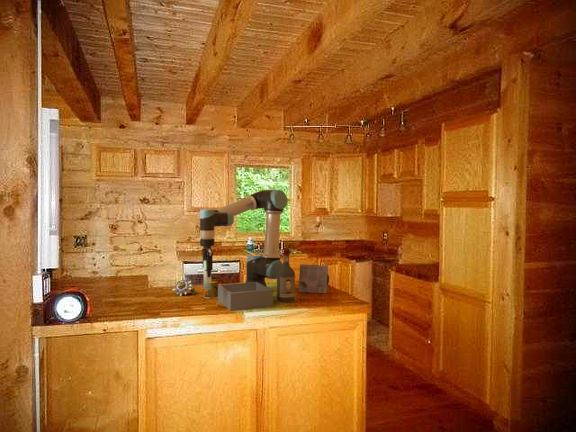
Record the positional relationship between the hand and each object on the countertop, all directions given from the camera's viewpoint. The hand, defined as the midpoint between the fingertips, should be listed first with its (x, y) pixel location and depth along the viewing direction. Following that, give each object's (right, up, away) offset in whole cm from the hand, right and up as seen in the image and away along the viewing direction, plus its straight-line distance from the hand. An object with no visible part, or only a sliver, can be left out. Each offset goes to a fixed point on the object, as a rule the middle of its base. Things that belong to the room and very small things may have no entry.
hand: (207, 282), depth 210 cm
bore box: (+19, -14, +11) cm, 26 cm away
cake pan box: (+59, -14, +42) cm, 74 cm away
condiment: (-3, -13, +26) cm, 30 cm away
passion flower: (-20, -13, +30) cm, 39 cm away
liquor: (+41, -14, +19) cm, 48 cm away
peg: (0, -4, 0) cm, 4 cm away
